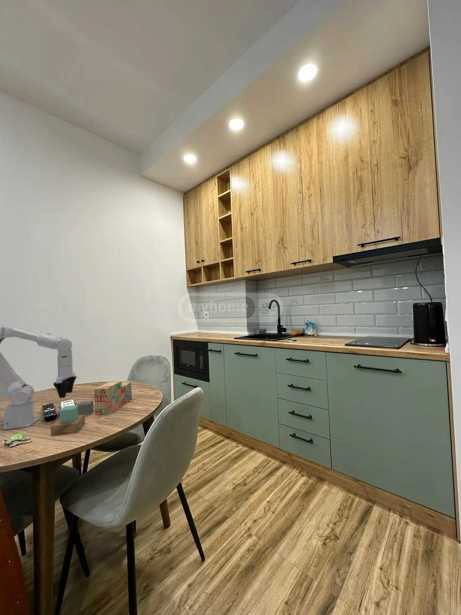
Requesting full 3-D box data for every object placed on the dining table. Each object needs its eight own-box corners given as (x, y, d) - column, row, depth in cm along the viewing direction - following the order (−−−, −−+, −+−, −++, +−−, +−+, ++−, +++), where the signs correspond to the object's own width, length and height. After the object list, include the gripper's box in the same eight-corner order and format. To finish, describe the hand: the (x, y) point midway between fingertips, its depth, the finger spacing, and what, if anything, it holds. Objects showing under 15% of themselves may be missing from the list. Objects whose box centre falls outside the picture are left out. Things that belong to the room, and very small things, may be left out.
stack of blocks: (121, 399, 137) (120, 376, 137) (132, 399, 136) (131, 376, 136) (94, 415, 115) (93, 388, 116) (107, 415, 115) (106, 388, 115)
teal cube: (60, 423, 98) (59, 410, 98) (64, 418, 103) (64, 406, 103) (74, 421, 100) (74, 408, 100) (78, 417, 104) (78, 404, 104)
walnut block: (50, 437, 96) (50, 426, 96) (60, 427, 105) (60, 417, 105) (77, 433, 98) (77, 423, 98) (85, 424, 107) (84, 414, 107)
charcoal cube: (77, 416, 115) (77, 405, 115) (81, 412, 120) (81, 401, 120) (90, 415, 116) (89, 404, 116) (93, 411, 121) (93, 400, 121)
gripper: (68, 367, 111) (69, 398, 110) (80, 361, 125) (81, 389, 124) (50, 369, 109) (51, 401, 109) (64, 363, 123) (64, 391, 123)
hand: (65, 395), depth 116 cm, fingers open, 7 cm apart
